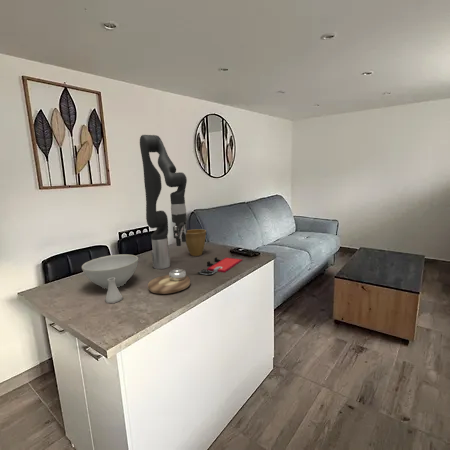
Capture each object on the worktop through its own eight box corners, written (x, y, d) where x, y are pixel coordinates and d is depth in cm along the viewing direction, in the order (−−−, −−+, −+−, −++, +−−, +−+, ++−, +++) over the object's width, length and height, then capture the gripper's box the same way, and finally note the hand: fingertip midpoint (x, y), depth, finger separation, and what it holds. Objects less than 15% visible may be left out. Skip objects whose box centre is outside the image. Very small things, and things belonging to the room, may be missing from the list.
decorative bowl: (72, 292, 143) (68, 268, 141) (112, 273, 167) (109, 253, 165) (116, 297, 133) (112, 272, 131) (151, 277, 157) (148, 255, 155)
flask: (112, 305, 126) (109, 283, 124) (102, 301, 130) (99, 280, 128) (126, 298, 132) (123, 277, 130) (115, 295, 136) (113, 275, 134)
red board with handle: (194, 274, 158) (218, 278, 151) (193, 269, 158) (218, 272, 151) (220, 259, 184) (242, 261, 177) (220, 254, 184) (242, 257, 177)
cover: (167, 281, 142) (166, 272, 141) (173, 275, 150) (172, 267, 149) (182, 281, 141) (182, 272, 140) (188, 275, 148) (187, 267, 147)
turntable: (141, 294, 135) (140, 289, 134) (158, 278, 154) (158, 274, 153) (182, 295, 131) (182, 290, 130) (195, 279, 150) (194, 274, 150)
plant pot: (206, 257, 188) (205, 232, 185) (183, 258, 189) (181, 234, 186) (208, 250, 203) (206, 228, 200) (187, 252, 203) (185, 229, 200)
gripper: (176, 210, 156) (179, 240, 159) (166, 215, 142) (169, 247, 145) (189, 210, 155) (192, 240, 157) (181, 214, 141) (184, 247, 144)
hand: (181, 243), depth 151 cm, fingers open, 8 cm apart
